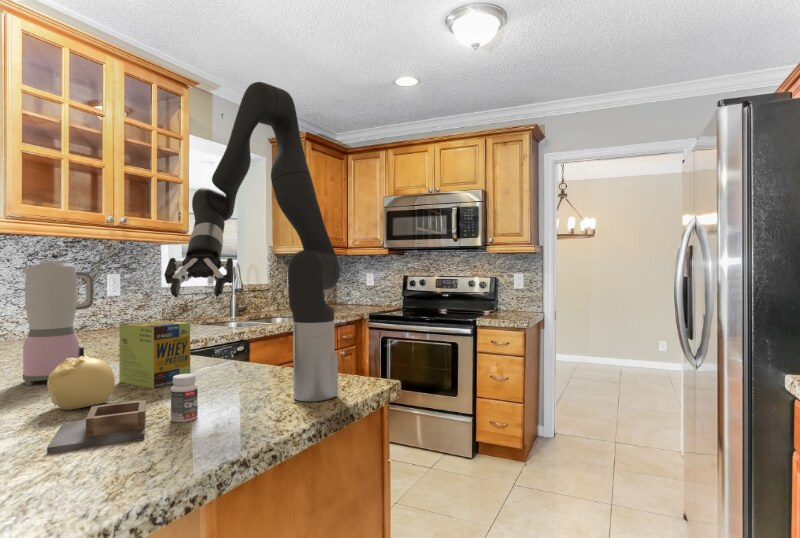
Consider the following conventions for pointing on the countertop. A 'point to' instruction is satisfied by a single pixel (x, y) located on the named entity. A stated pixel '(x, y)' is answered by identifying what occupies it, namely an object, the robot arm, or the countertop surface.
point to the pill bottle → (184, 398)
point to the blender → (52, 317)
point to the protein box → (153, 352)
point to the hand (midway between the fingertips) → (196, 294)
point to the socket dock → (102, 427)
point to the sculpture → (81, 383)
